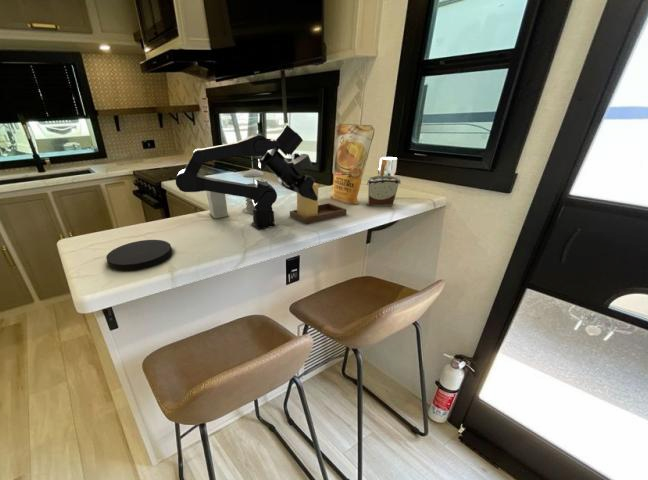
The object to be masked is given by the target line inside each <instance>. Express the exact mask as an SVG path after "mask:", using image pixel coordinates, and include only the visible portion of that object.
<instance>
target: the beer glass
mask: <svg viewBox="0 0 648 480" xmlns="http://www.w3.org/2000/svg"><path fill="white" fill-rule="evenodd" d="M397 164H398V158H397V157H393V156H385V157H384V156H383V157H380V158H379V163H378V168H377V176H394V177H396V172H397Z"/></svg>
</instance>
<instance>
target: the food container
mask: <svg viewBox="0 0 648 480" xmlns="http://www.w3.org/2000/svg"><path fill="white" fill-rule="evenodd" d="M366 185H367V186H368V190H367V191H368V193H367V195H368V196H367V197H368V200H367V201H368V204H367V205H368V206H374V207H375V206H376V207H377V206H394V203H395V200H396V195H397V191H398V187H399V185H401V178H400V177H399V176H378V175H376V176H371V177H369V178H368V179H367V182H366Z"/></svg>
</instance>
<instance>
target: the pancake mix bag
mask: <svg viewBox="0 0 648 480" xmlns="http://www.w3.org/2000/svg"><path fill="white" fill-rule="evenodd" d="M375 130H376V128H374V127H373V125H370V124H355V123H339V124H337V125H336V126H335V131H336V132H335V147H334V160H333V161H334V162H333V166H334V167H333V187H332V199H333V200H337V201H339V202H340V201H341V202H343V203H346V204H348V205H349V204H350V205H353V204H355V205H358V195H359V192H360V189H361V185H362V181H363V175H364V172H365V168H366V165H367V162H368V158H369V153H370V149H371V145H372V142H373V140H374V136H375Z"/></svg>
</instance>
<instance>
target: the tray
mask: <svg viewBox="0 0 648 480" xmlns="http://www.w3.org/2000/svg"><path fill="white" fill-rule="evenodd" d="M346 215H347V208H344V207H341V206H339V205H336V204H332V203H330V202H327V203H321V204H318V215H316V216H312V217H307V218H305V217H303V216H301V215H299V214H297V209H294V210H289V217H290V218H292V219H294V220H296V221H298V222H300V223H302V224H304V225H309V224H313V223H316V222H321V221H326V220H330V219H333V218H338V217H342V216H346Z"/></svg>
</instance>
